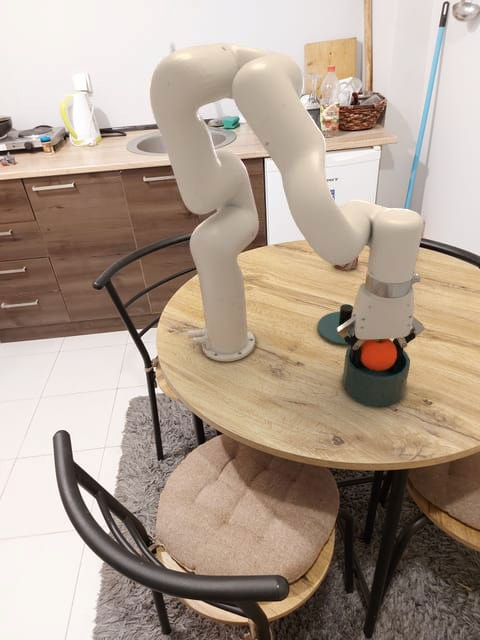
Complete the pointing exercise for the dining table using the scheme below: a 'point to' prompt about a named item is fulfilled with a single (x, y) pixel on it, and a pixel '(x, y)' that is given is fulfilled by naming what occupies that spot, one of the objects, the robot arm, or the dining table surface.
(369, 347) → the clementine
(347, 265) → the soda can
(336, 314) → the pot lid
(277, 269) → the dining table surface
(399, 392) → the pot
